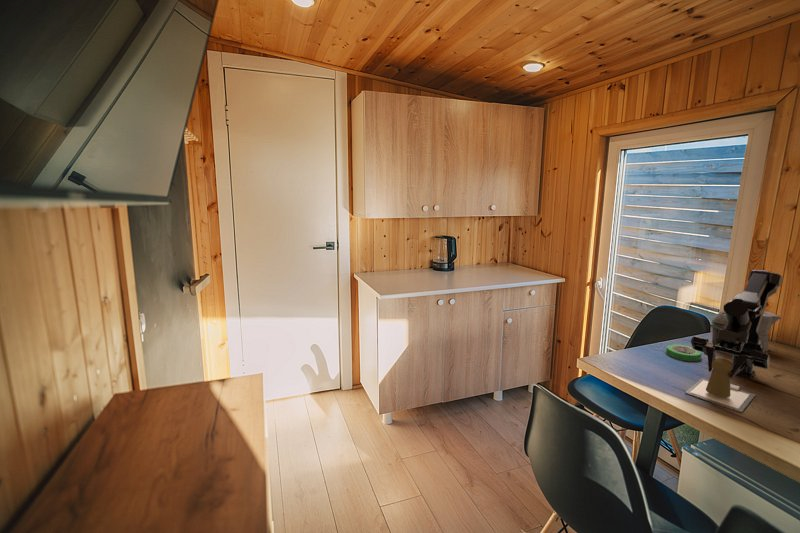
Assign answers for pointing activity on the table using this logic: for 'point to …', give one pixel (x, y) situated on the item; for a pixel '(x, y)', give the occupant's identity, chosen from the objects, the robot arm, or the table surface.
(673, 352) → the tape roll
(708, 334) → the table surface
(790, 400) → the table surface
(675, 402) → the table surface
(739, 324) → the robot arm
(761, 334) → the coffeepot
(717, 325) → the beverage cup
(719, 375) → the cork
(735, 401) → the clipboard
